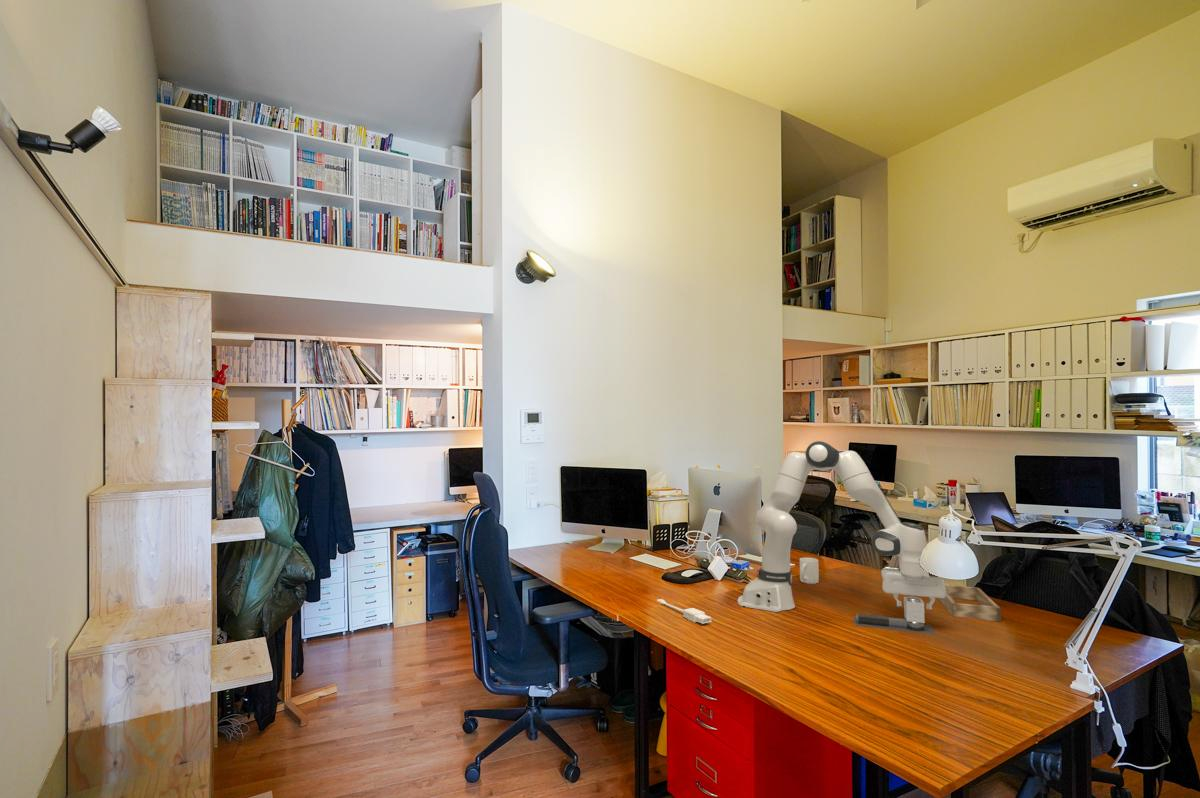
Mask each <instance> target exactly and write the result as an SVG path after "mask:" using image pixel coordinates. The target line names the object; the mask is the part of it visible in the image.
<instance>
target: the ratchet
mask: <svg viewBox="0 0 1200 798" xmlns="http://www.w3.org/2000/svg"><path fill="white" fill-rule="evenodd" d="M855 615H856V616H855V618H856V621H857V623H859V624H867V625H876V626H886V627H897V628H906V629H909V630H913V631H923V630H924V625H925V623H919V622H910V621H906V619H905V618H900V617H899V618H898V617H897V618H896V617H888V616H887V615H886V616H885V615H884V616H883V615H877V614H866V613H856V614H855Z"/></svg>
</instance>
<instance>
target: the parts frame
mask: <svg viewBox="0 0 1200 798" xmlns="http://www.w3.org/2000/svg"><path fill="white" fill-rule="evenodd" d="M945 586H946V597H945V598H938V599H939V600H940V601H941V603H942V604H943V606H945V608H946V609H947V610H948V612H949V613H950V614H951V616H953V617H958V618H959V617H961V618H971V619H980V620H984V621H993V622H1000V623H1001V622H1002V613H1001V612H1002V608H1001V607H1000V606H999V605H998V604H997V603H996V602H994V601H993V599H992V598H991V597H990V596H989V595H988V594H986V593H985V592H984V591H983V590H982V589H981V588H980V587H976V586H964V585H963V586H962V585H951V584H945ZM954 599H958V600H970V601H971V600H972V601H977V603H979V605H978V604H971V603H970V604H969V603H959V602H955V600H954Z"/></svg>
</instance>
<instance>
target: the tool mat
mask: <svg viewBox="0 0 1200 798" xmlns="http://www.w3.org/2000/svg"><path fill="white" fill-rule="evenodd" d="M852 619H853V624H854V626H858V627H868V628H875V629H886V630H896V631H903V632H904V631H905V632H913V633H914V632H915V633H923V634H933V635H936V634H937V633H936V631H935V629H934V628H933V627H932V625H931V624H930V625H928V624H924V630H923V631H913V630H909V629H906V628H897V627H886V626H876V625H867V624H859V623H857V621H856V617H852Z"/></svg>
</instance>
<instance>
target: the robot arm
mask: <svg viewBox="0 0 1200 798" xmlns="http://www.w3.org/2000/svg"><path fill="white" fill-rule="evenodd" d="M830 471H835V472H836V473H837V476H838V477H839V479H840V481H841V484H842V485H843V487H844V490H845V491H846V492H847V494H848V496H849V497H850V498H851V499H853V500H854V501H857V502H861V503H863V504H865V505H867V506H869V507H870V508H871V509H873V511H874V512H875V513H876V516H877V517H878V519H879V520H880V522H881V524H882V525H883V527H884V528H883V529H879V530H877V531H875V532H874V533H873V534H872V535H871V539H870V540H871V546H872V548H873V550H874V551H875V552H876V553H877V554H879V555H880V556H885V557H890V556H891V557H892V556H897V557H898V566H899V567H892V566H891V567H890V566H885V567H883V568H881V571H880V574H881V576H880V577H881V578H882V582H881V583H882V584H881V587H882V591H883V592H884V593H885V594H892V596H893V598H894V600H895V601H896V607H898V608H899V607H900V608H902V607H903V604H902V603H903V602H902V601H901V600H899V595H903V596H913V597H924V598H929V599H930V600H929V601H928V603H927V602H926V603H925V607H926V608H925V609H926V610H931V611H932V610H933V607H932V606H933V604H934V603H935V601H936V599H939V598H945V597H946V586H945V585H946V583H945V580H944V578H943V577H938V576H935V575H932V574H930V573H929V572H927V571H925V570H923V569H922V568H921V567H920V565H919V559H920V557H921V554H922V551H923V549H924V548H925V547H926V548H927V538H926V532H925V529H924V528H923V527H922V526H921V525H919V524H917V523H915V522H909V521H903V522H902V521H901V518H899V516H898V514H897V513H896V511H895V509H894V508H893V506H892V505H891V502H890V501H889V500H888V498H887V497H886V495H885V494H884V493H883V491H882V490H881V488H879V487H880V486H878V484H877V483H876V481H875V478H874V477H873V475H872V474H871V471H870V470H869V468H868V466H867V465H866V463H865V461H864V460H863V459H862V457H861V456H860V454H858V452H856V451H854V450H844V451H842V452H841V451H840V452H839V450H837V449H836V448H835V447H834V446H832V445H831V444H829V443H827V442H826V441H825V442H824V441H821V440H819V441H818V440H817V441H814V442H812V443H810V444H809V445H808V446H807V448H806V450H805V452H803V453H802V452H798V451H792V452H790V453H788V454H787V455H786V457H785V459H784V460H783V462H782V464H781V466H780V468H779V470H778V473H777V476H776V478H775V481H774V484H773V487H772V489H771V491H770V493H769V495H768V496H767V498H766V500H765V501H764V503H763V505H762V507H760V508H759V509H758V510H757V512H756V514H755V522H756V524H757V526H758V527H759V529H760V530H762V531H763V532H764V533H765V540H764V544H763V547H762V548H761V567H760V566H758V567H756V577H755V578H754V579H753V580H751V581H750V582H749V583H747V584H746V585H745V587H744V589H743V593H742V595H740V596H739V597H738V599H737V604H738V605H739V606H740V607H743V606H745V607H744V608H752V609H756V610H763V611H768V612H775V613H777V612H781V611H788V610H792V609H794V608H795V607H796V604H795V601H794V597H793V591H792V590H793V589H792V584H793V577H792V575H793V574H792V570H791V550H792V549H791V547H792V542H793V538H794V535H796V533H797V530H798V525H797V522H796V520H795V518H794V517H793V516H792V515H791V514H790V512H791V510H792V508H793V507H794V506H795V505H796V504H797V503H798V502H799V501H800V498H801V495H802V493H803V489H804V487H805V485H806V481H807V479H808V476H809V474H810V473H811V472H816V473H819V472H820V473H827V472H828V473H829V472H830Z"/></svg>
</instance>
